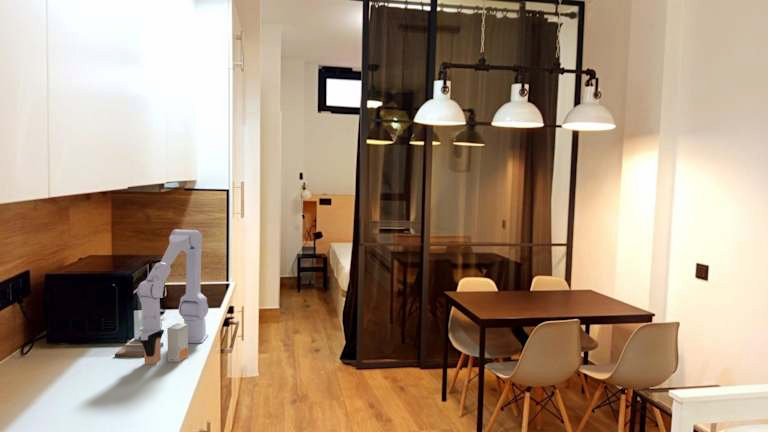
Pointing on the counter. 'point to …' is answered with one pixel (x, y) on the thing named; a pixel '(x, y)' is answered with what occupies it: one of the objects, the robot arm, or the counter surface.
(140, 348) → the socket board
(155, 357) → the peg
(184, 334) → the skincare box
